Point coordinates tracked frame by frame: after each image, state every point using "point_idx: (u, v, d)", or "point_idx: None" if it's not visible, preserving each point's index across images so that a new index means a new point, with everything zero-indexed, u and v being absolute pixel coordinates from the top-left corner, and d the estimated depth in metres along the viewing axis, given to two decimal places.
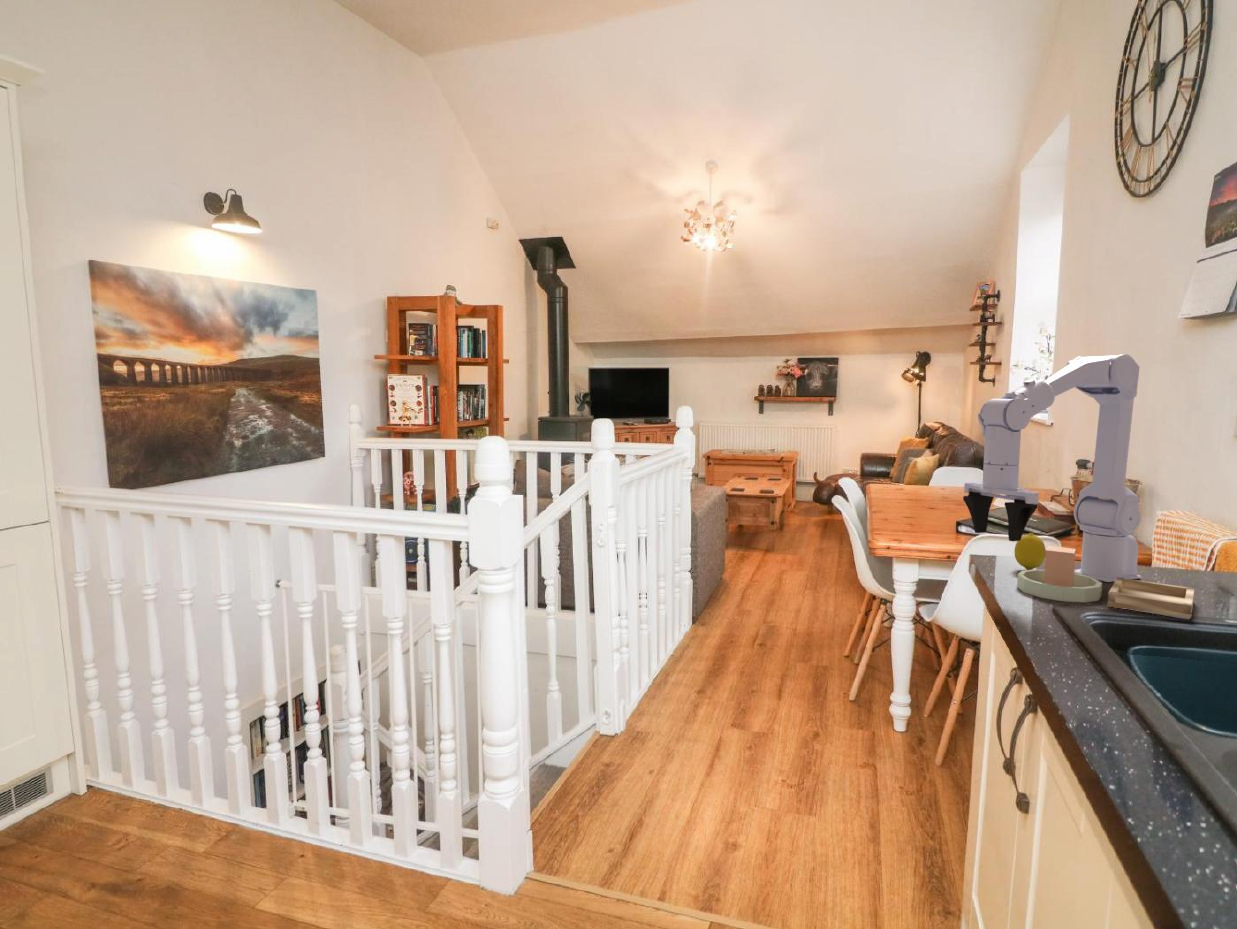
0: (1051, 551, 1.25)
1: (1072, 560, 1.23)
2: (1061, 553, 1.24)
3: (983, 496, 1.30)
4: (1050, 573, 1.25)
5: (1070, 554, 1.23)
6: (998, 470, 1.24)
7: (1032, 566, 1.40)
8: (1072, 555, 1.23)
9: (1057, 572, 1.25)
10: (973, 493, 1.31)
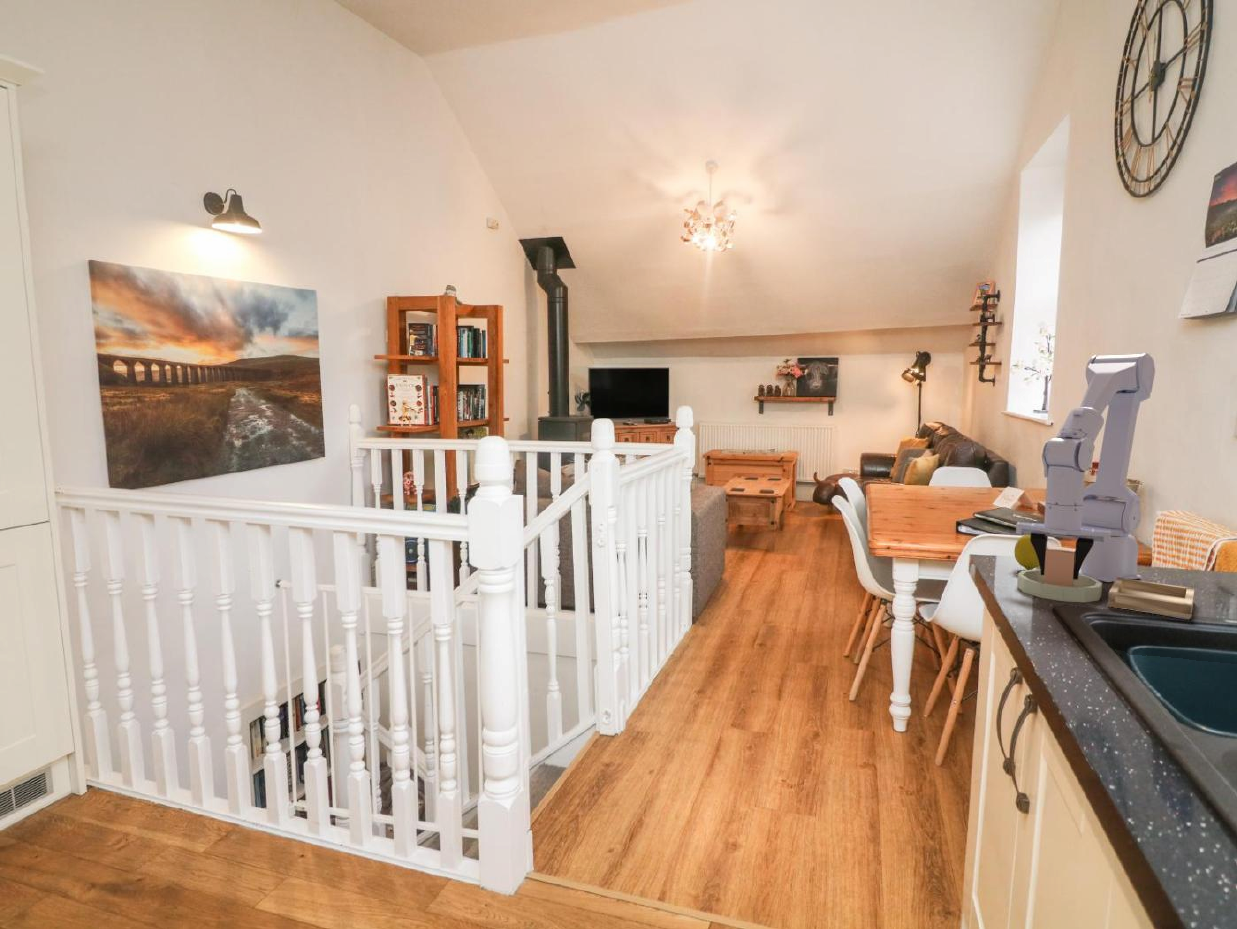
0: (1051, 551, 1.25)
1: (1072, 560, 1.23)
2: (1061, 553, 1.24)
3: (1046, 537, 1.27)
4: (1050, 573, 1.25)
5: (1070, 554, 1.23)
6: (1073, 511, 1.22)
7: (1032, 566, 1.40)
8: (1072, 555, 1.23)
9: (1057, 572, 1.25)
10: None
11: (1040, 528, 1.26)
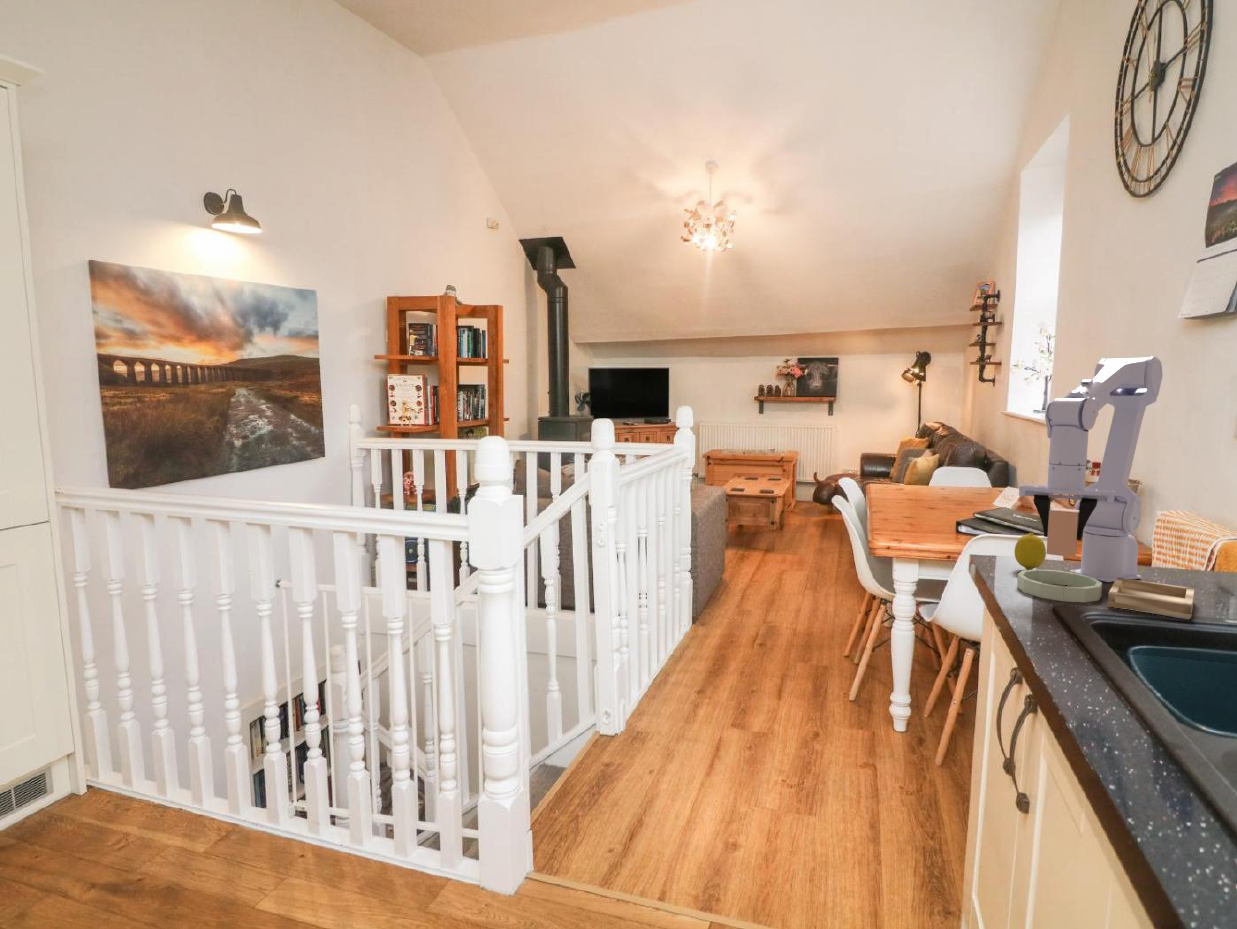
0: (1054, 512, 1.24)
1: (1076, 520, 1.22)
2: (1064, 513, 1.23)
3: (1049, 498, 1.27)
4: (1054, 534, 1.25)
5: (1074, 514, 1.23)
6: (1076, 471, 1.22)
7: (1032, 566, 1.40)
8: (1076, 515, 1.22)
9: (1060, 533, 1.24)
10: (1032, 495, 1.27)
11: (1043, 489, 1.25)
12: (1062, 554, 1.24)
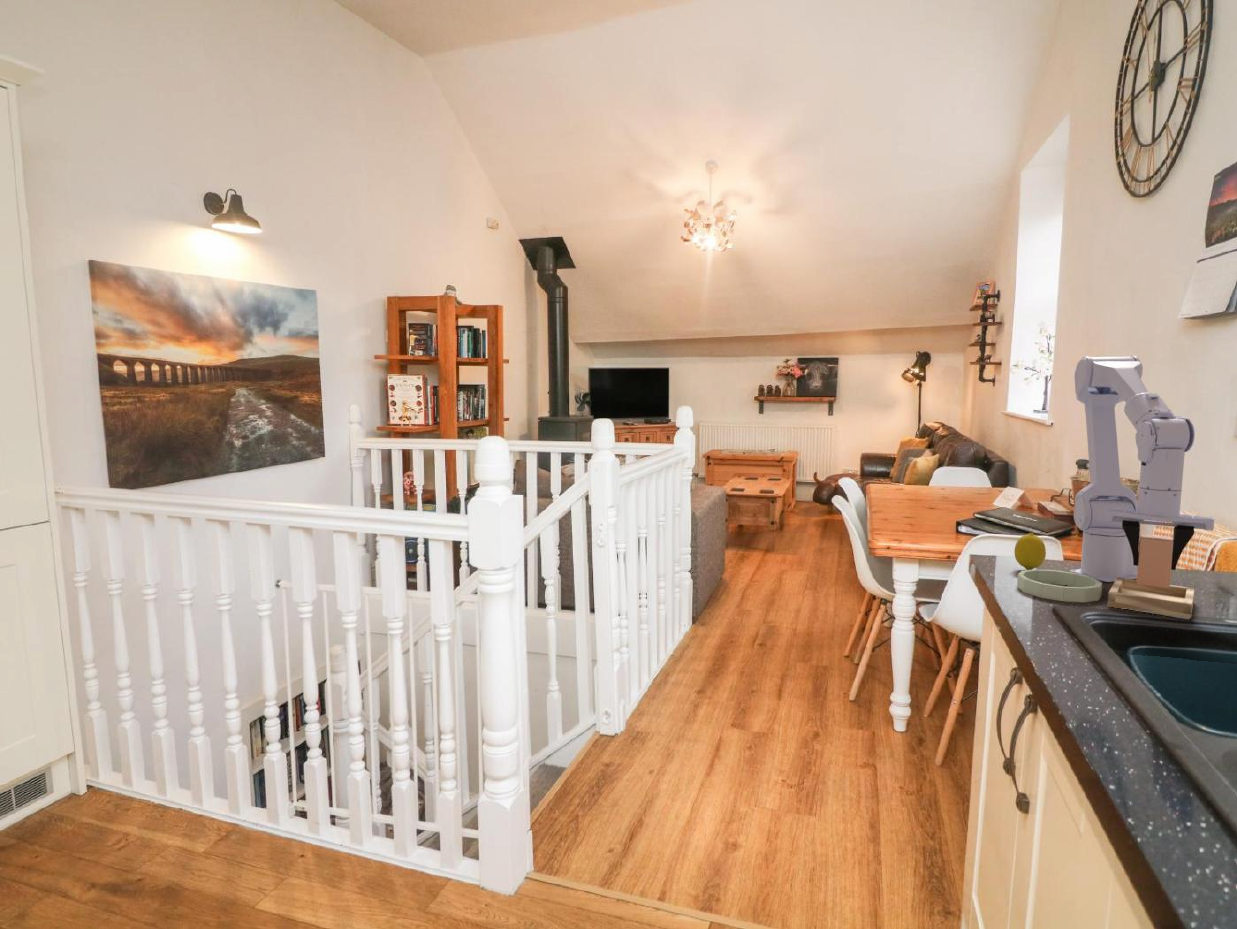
0: (1146, 539, 1.17)
1: (1171, 549, 1.15)
2: (1158, 541, 1.16)
3: (1139, 525, 1.19)
4: (1146, 563, 1.17)
5: (1168, 542, 1.15)
6: (1172, 496, 1.14)
7: (1032, 566, 1.40)
8: (1171, 543, 1.15)
9: (1153, 562, 1.16)
10: (1120, 521, 1.20)
11: (1134, 515, 1.18)
12: (1155, 584, 1.17)
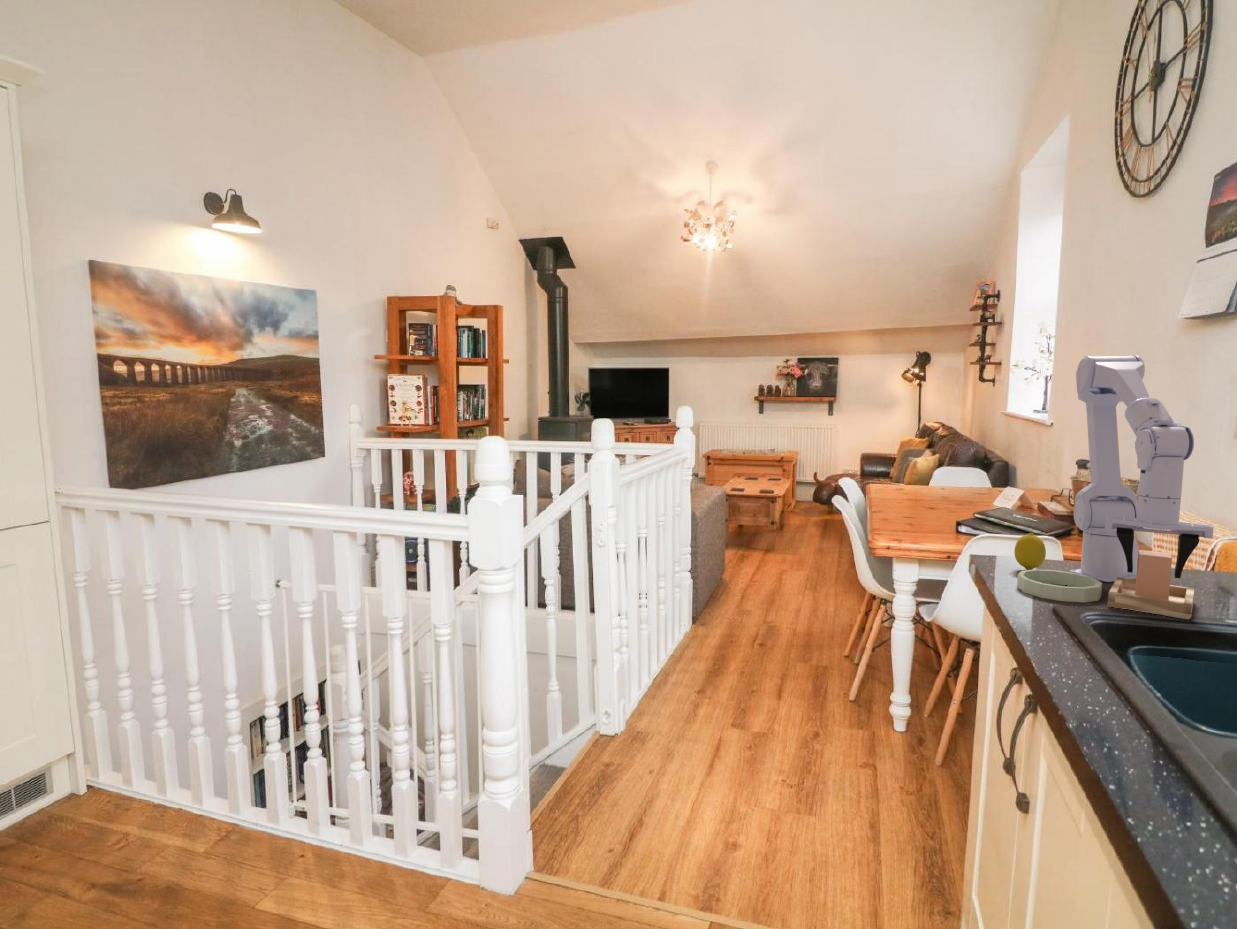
0: (1145, 555, 1.17)
1: (1169, 565, 1.15)
2: (1157, 558, 1.16)
3: (1133, 532, 1.20)
4: (1144, 579, 1.17)
5: (1167, 559, 1.15)
6: (1171, 504, 1.14)
7: (1032, 566, 1.40)
8: (1169, 560, 1.15)
9: (1152, 578, 1.17)
10: (1120, 529, 1.20)
11: (1133, 523, 1.18)
12: None
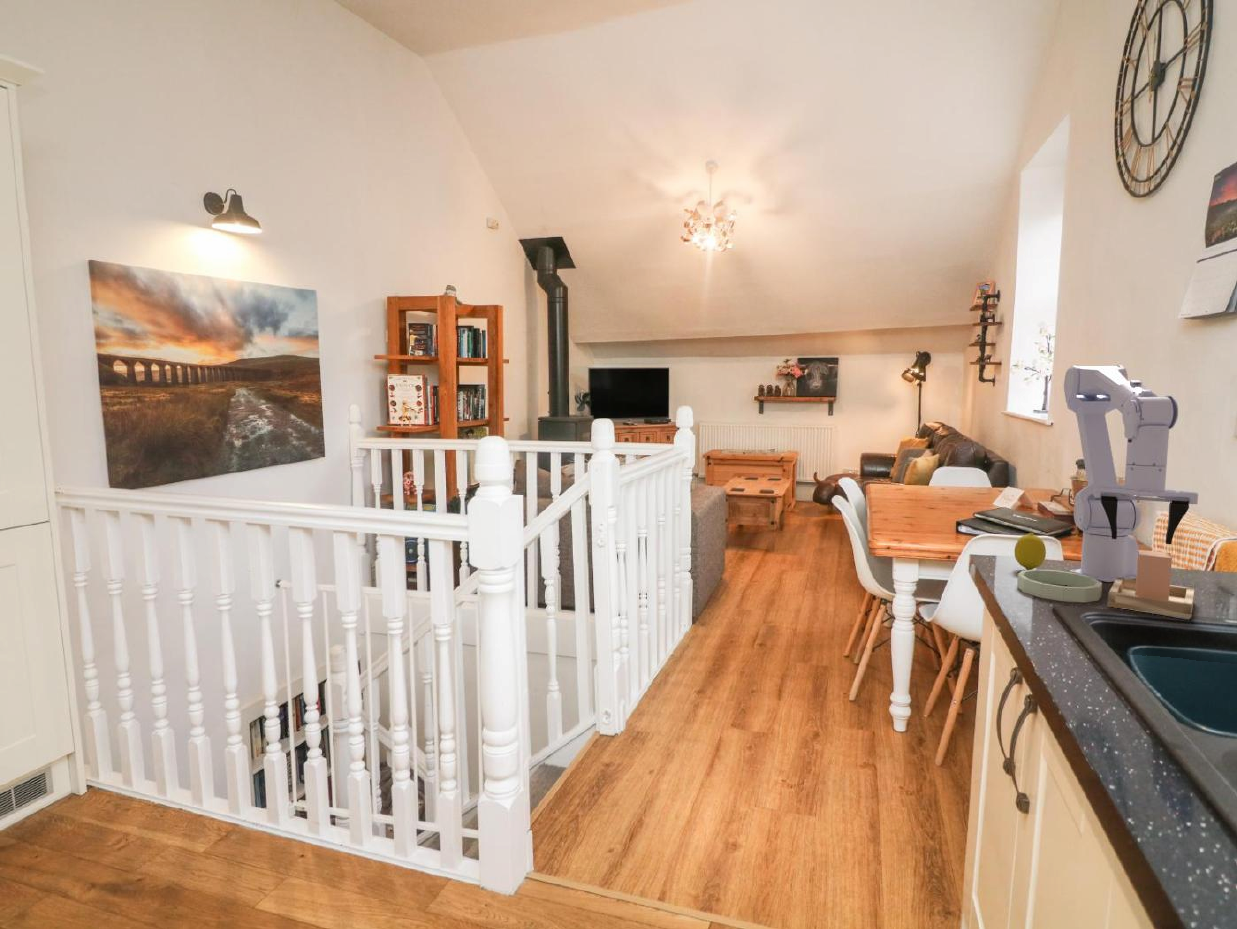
0: (1145, 555, 1.17)
1: (1169, 565, 1.15)
2: (1157, 558, 1.16)
3: (1117, 500, 1.24)
4: (1144, 579, 1.17)
5: (1167, 559, 1.15)
6: (1157, 471, 1.18)
7: (1032, 566, 1.40)
8: (1169, 560, 1.15)
9: (1152, 578, 1.17)
10: (1108, 497, 1.24)
11: (1121, 490, 1.21)
12: None
